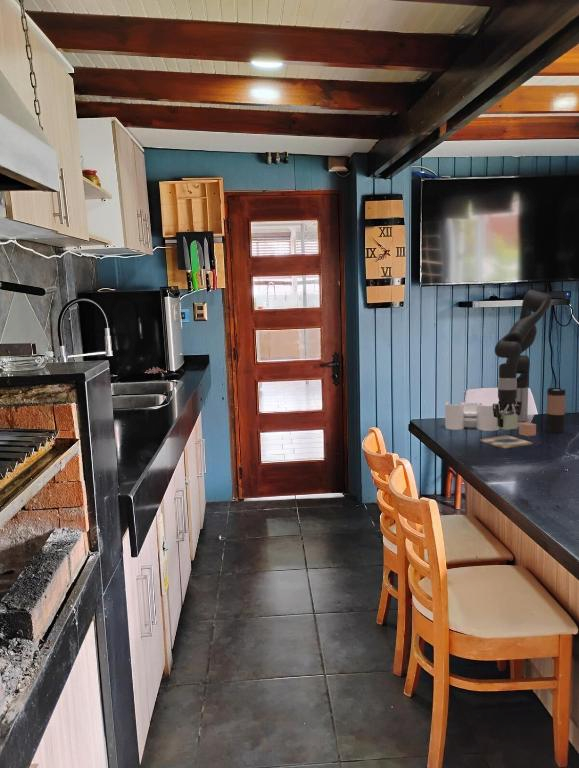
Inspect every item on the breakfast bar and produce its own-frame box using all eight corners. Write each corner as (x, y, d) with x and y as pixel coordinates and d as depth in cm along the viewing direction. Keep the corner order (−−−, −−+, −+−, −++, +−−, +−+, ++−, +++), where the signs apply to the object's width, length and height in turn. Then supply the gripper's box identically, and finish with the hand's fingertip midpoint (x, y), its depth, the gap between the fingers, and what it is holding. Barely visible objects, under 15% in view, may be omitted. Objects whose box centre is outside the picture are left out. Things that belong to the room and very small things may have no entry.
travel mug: (545, 432, 261) (546, 390, 258) (546, 429, 268) (547, 387, 265) (563, 434, 258) (565, 390, 255) (564, 430, 264) (565, 388, 262)
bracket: (445, 430, 275) (445, 405, 273) (445, 425, 284) (445, 401, 282) (500, 431, 268) (500, 406, 266) (498, 426, 277) (498, 402, 276)
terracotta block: (519, 434, 261) (519, 423, 260) (527, 433, 263) (527, 422, 262) (527, 436, 256) (527, 425, 256) (535, 435, 258) (536, 424, 258)
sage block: (496, 427, 247) (496, 413, 246) (507, 425, 249) (507, 412, 249) (506, 429, 242) (506, 415, 241) (517, 428, 244) (517, 414, 243)
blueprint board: (480, 440, 251) (480, 438, 251) (507, 437, 256) (507, 435, 256) (504, 448, 237) (504, 446, 237) (532, 444, 242) (532, 442, 242)
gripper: (514, 385, 249) (513, 423, 251) (487, 388, 244) (487, 426, 246) (527, 387, 242) (526, 426, 245) (500, 390, 237) (499, 429, 239)
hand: (506, 426), depth 245 cm, fingers closed on sage block, 6 cm apart
